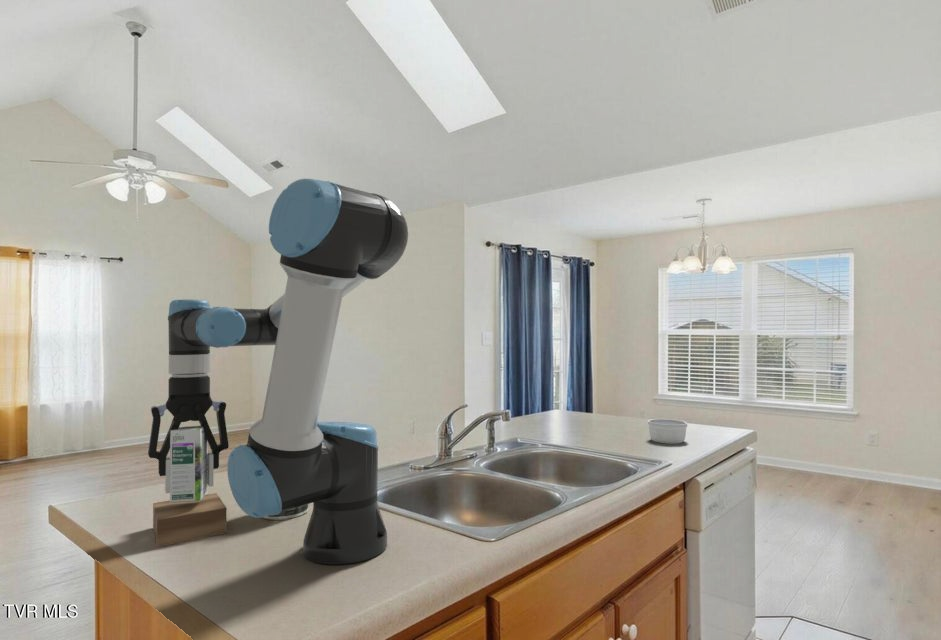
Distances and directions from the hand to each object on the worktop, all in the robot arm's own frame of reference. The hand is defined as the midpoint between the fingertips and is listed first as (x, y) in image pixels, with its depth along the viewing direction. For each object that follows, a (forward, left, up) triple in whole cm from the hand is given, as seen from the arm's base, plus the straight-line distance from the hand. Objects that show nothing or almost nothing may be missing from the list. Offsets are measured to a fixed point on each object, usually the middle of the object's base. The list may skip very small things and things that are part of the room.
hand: (189, 488), depth 110 cm
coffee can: (0, -19, -9) cm, 21 cm away
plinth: (0, 0, -9) cm, 9 cm away
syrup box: (0, 0, -2) cm, 2 cm away
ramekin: (-1, -153, -9) cm, 153 cm away
